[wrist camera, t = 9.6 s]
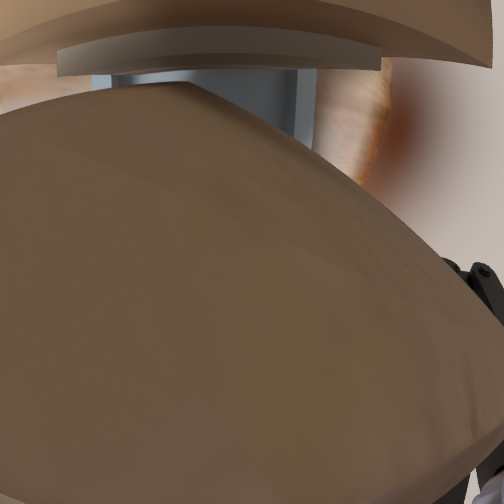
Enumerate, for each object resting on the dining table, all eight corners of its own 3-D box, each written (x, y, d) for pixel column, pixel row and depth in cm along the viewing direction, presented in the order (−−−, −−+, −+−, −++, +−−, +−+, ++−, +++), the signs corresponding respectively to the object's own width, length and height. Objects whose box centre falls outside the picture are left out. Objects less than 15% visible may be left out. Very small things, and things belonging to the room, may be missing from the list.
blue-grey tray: (108, -6, 14) (94, -18, 11) (302, -11, 17) (319, -23, 14) (128, 244, 28) (121, 268, 24) (287, 232, 30) (299, 254, 27)
